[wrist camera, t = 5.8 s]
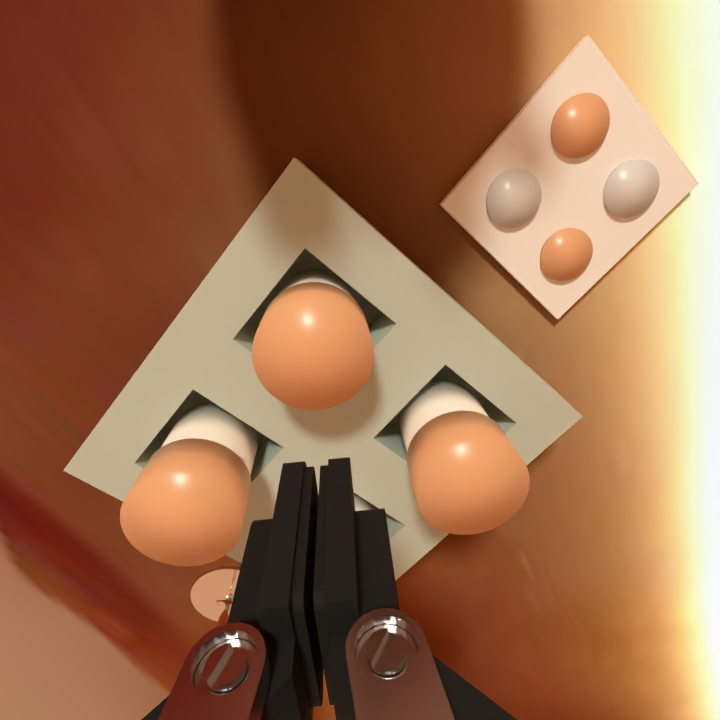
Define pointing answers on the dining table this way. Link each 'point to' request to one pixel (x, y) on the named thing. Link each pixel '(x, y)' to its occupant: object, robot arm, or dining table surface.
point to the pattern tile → (570, 182)
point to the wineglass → (215, 593)
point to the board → (336, 424)
